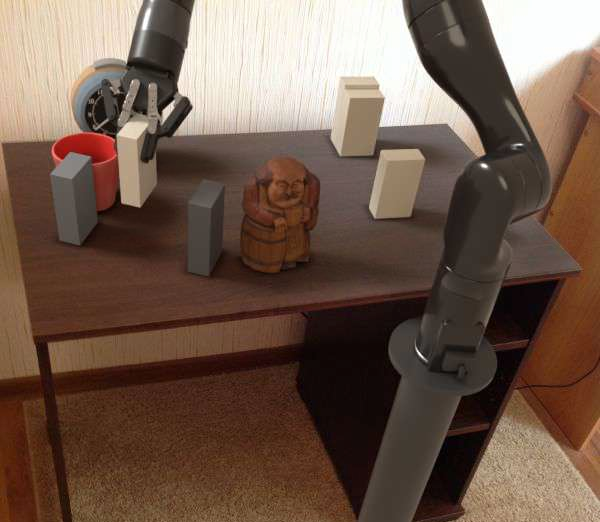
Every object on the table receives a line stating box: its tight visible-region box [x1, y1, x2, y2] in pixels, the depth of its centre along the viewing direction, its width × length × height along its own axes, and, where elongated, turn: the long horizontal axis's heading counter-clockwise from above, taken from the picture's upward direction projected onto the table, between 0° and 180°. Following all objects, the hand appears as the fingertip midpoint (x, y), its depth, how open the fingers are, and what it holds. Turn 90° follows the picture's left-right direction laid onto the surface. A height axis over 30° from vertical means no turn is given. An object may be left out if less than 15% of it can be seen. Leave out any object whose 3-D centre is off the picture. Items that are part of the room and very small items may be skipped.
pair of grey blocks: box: [49, 152, 226, 277], centre depth 117 cm, size 7×25×13 cm, turn 77°
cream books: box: [330, 76, 426, 220], centre depth 141 cm, size 29×7×13 cm, turn 15°
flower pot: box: [51, 132, 120, 212], centre depth 126 cm, size 11×11×10 cm
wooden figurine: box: [239, 155, 321, 274], centre depth 117 cm, size 12×6×18 cm, turn 119°
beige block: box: [117, 114, 158, 208], centre depth 111 cm, size 7×3×11 cm, turn 167°
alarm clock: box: [69, 57, 148, 140], centre depth 133 cm, size 14×10×18 cm
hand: (132, 158), depth 108 cm, fingers closed on beige block, 3 cm apart
